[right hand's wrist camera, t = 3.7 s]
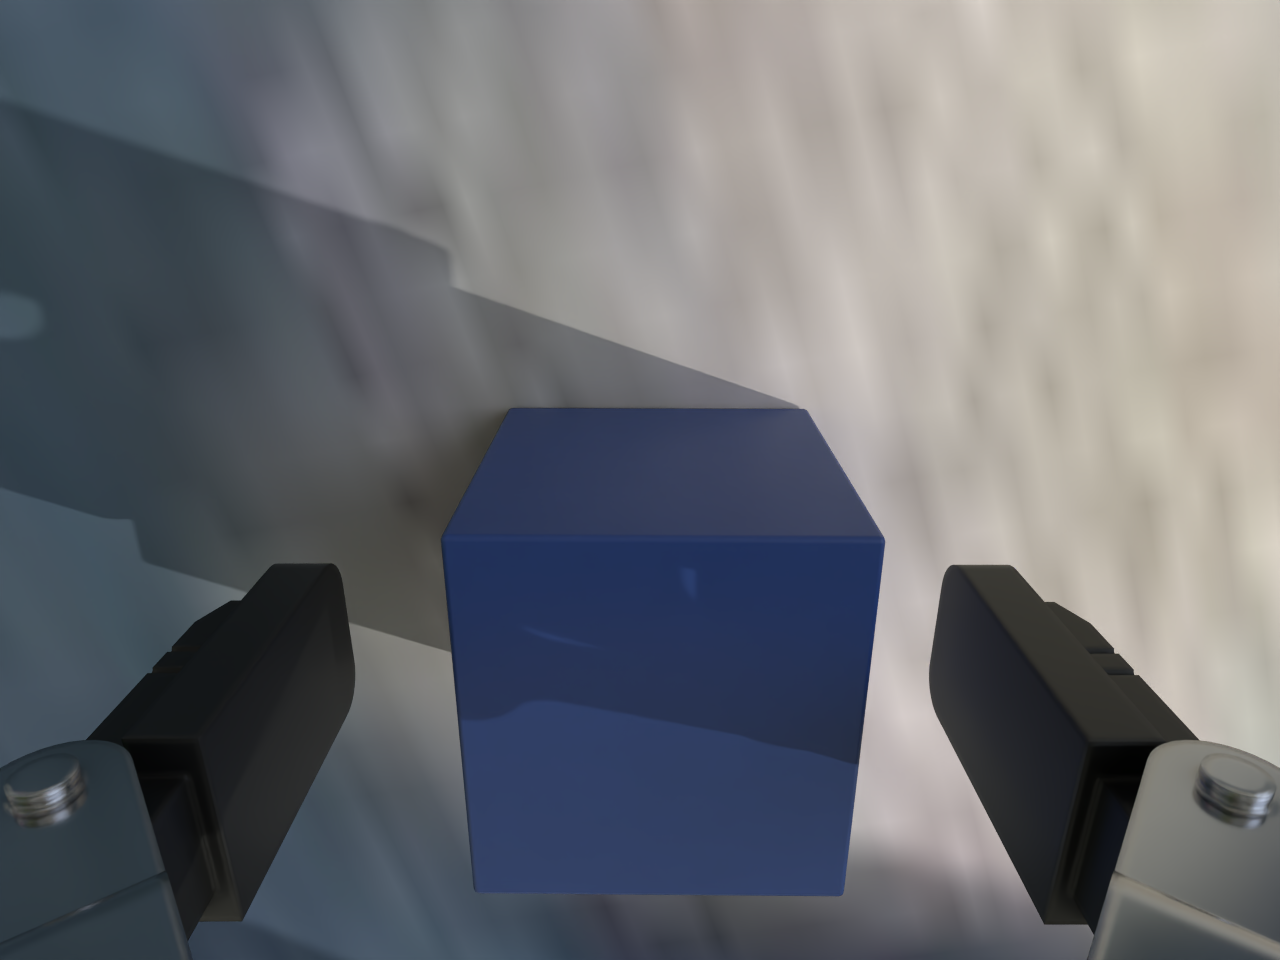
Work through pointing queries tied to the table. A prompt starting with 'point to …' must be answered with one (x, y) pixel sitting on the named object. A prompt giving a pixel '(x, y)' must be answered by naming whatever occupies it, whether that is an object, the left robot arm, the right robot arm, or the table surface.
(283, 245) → the table surface
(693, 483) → the block
